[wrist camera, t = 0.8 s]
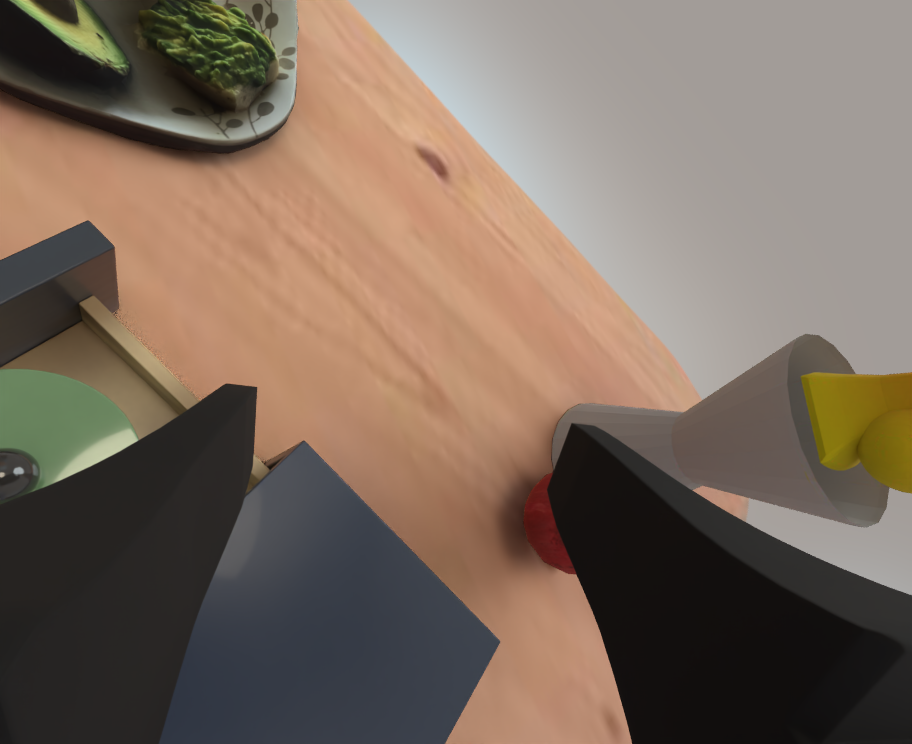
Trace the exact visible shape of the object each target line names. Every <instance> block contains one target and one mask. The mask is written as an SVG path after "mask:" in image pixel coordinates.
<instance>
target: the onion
mask: <svg viewBox="0 0 912 744" xmlns="http://www.w3.org/2000/svg"><path fill="white" fill-rule="evenodd" d="M552 474H553V473H550V474H547V475H546V476H545V477H544V478H543V479H542V480H541V481H540V482H539V483H537V484H536V486H535V487H534V488H533V489H532V490H531V492H530V495H529V497H528V499H527V501H526V503H525V511H524V521H523V523H524V527H525V531H526V535H527V539H528V542H529V543H530V544H531V546H532V547H533V548H534V550H535V551H536V552H537V554H538V555H539V556H540V557H541V559H542V560H543V561H544V562H545V563H547V564H549V565H551V566H553V567H555V568H557V569H559V570H561V571H563V572H566V573H568V574H576V572H575V570H574V567H573V565H572V563H571V560H570V558H569V556H568V553H567V551H566V549H565V546H564V544H563V541H562V539H561V537H560V534H559V532H558V529H557V527H556V523H555V520H554V516H553V513H552V509H551V505H550V501H549V497H548V493H547V487H548V485H549V482H550V479H551V477H552Z"/></svg>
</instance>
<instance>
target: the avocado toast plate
mask: <svg viewBox="0 0 912 744" xmlns="http://www.w3.org/2000/svg"><path fill="white" fill-rule="evenodd" d="M296 5H297V2H296V0H0V89H1V90H3V91H5V92H7V93H9V94H11V95H13V96H15V97H17V98H19V99H21V100H24V101H26V102H28V103H31V104H33V105H36V106H39V107H42V108H44V109H47V110H50V111H53V112H56V113H58V114H60V115H63V116H65V117H68V118H71V119H74V120H77V121H80V122H83V123H86V124H89V125H91V126H94V127H97V128H99V129H102V130H105V131H108V132H111V133H114V134H117V135H120V136H122V137H125V138H128V139H132V140H136V141H140V142H144V143H148V144H152V145H157V146H162V147H167V148H173V149H180V150H194V151H203V152H212V153H231V152H235V151H238V150H242V149H245V148H248V147H251V146H253V145H256V144H258V143H260V142H262V141H265V140H267V139H269V138H270V137H271V136H272V135H273V134H275V133H276V132H277V131H278V130H279V129H280V128H281V127H282V126H283V125H284V124H285V122H286V121H287V119H288V116H289V115H290V113H291V111H292V109H293V106H294V101H295V96H296V86H297V84H296V80H297V70H296V62H297V35H298V29H299V27H298V17H297V6H296Z"/></svg>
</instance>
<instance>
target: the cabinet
mask: <svg viewBox="0 0 912 744" xmlns="http://www.w3.org/2000/svg"><path fill="white" fill-rule="evenodd" d="M264 465H265V466H266V467H267V468H268V469H269V470H270V471H269V472H268V473H267V474H266V475H265V476H264V477H263V478H262V479H261V480H260V481H259V482H258V483H256V484H255V485H254V486H253V487H252V488H251V489H250V490H249V491H248V492H247V493H246V494H245V498H244V501H243V505H242V508H241V511H240V513H239V516H238V518H237V521H236V523H235V525H234V528H233V530H232V533H231V535H230V538H229V540H228V542H227V545H226V547H225V550H224V552H223V554H222V557H221V559H220V562H219V564H218V566H217V569H216V571H215V574H214V576H213V578H212V581H211V583H210V586H209V588H208V590H207V593H206V595H205V598H204V600H203V602H202V605H201V608H200V611H199V613H198V616H197V619H196V621H195V624H194V627H193V630H192V634H191V637H190V640H189V643H188V647H187V650H186V653H185V657H184V660H183V663H182V667H181V670H180V673H179V676H178V680H177V683H176V687H175V690H174V693H173V697H172V700H171V704H170V707H169V711H168V714H167V718H166V721H165V724H164V728H163V731H162V735H161V738H160V742H159V744H445V742H446V741H447V739H448V737H449V735H450V733H451V731H452V730H453V728H454V726H455V724H456V722H457V720H458V719H459V717H460V715H461V713H462V711H463V710H464V708H465V706H466V704H467V702H468V700H469V699H470V697H471V695H472V693H473V691H474V689H475V688H476V686H477V684H478V682H479V680H480V678H481V677H482V675H483V673H484V671H485V669H486V667H487V666H488V664H489V662H490V660H491V658H492V656H493V655H494V653H495V651H496V649H497V647H498V645H499V644H500V640H499V639H498V638H497V637H496V636H495V635H494V634H493V633H492V632H491V631H490V630H489V629H488V628H487V627H486V626H485V625H484V624H483V623H482V622H481V621H480V620H479V619H478V618H477V617H476V616H475V615H474V614H473V613H472V612H471V611H470V610H469V609H468V608H467V607H466V606H465V605H464V603H463V602H462V601H461V600H460V599H459V598H458V597H457V596H456V595H455V594H454V593H453V592H452V591H451V590H450V589H449V588H448V587H447V586H446V585H445V584H444V583H443V582H442V581H441V580H440V579H439V578H438V577H437V576H436V575H435V574H434V573H433V572H432V571H431V570H430V569H429V568H428V567H427V566H426V565H425V564H424V563H423V562H422V560H421V559H420V558H419V557H418V556H417V555H416V554H415V553H414V552H413V551H412V550H411V549H410V548H409V547H408V546H407V545H406V544H405V543H404V542H403V541H402V540H401V539H400V538H399V537H398V536H397V535H396V534H395V533H394V532H393V531H392V530H391V529H390V528H389V527H388V526H387V525H386V524H385V523H384V522H383V521H382V520H381V519H380V517H379V516H378V515H377V514H376V513H375V512H374V511H373V510H372V509H371V508H370V507H369V506H368V505H367V504H366V503H365V502H364V501H363V500H362V499H361V498H360V497H359V496H358V495H357V494H356V493H355V492H354V491H353V490H352V489H351V488H350V487H349V486H348V485H347V484H346V483H345V482H344V481H343V480H342V479H341V478H340V477H339V476H338V474H337V473H336V472H335V471H334V470H333V469H332V468H331V467H330V466H329V465H328V464H327V463H326V462H325V461H324V460H323V459H322V458H321V457H320V456H319V455H318V454H317V453H316V452H315V451H314V450H313V449H312V448H311V447H310V446H309V445H308V444H307V443H306V442H305V441H302V442H300V443H298V444H297V445H295V446H293V447H292V448H290V449H288V450H286V451H284V452H283V453H281V454H279V455H277V456H276V457H274V458H272V459H270V460H268V461H267V462H266V463H265V464H264Z"/></svg>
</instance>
